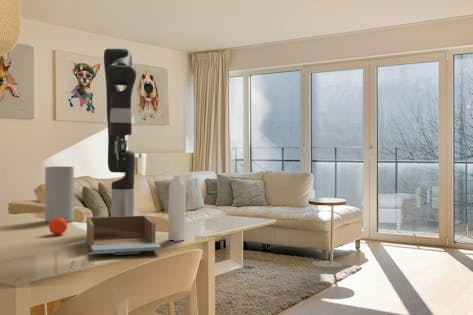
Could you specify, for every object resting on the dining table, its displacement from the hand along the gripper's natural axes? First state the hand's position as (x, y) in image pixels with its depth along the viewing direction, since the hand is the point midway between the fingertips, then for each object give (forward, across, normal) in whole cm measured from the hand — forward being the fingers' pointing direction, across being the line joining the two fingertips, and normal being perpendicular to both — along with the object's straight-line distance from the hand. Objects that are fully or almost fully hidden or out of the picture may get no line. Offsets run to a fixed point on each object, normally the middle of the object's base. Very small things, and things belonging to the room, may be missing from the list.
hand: (120, 170), depth 199 cm
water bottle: (+27, -6, +23) cm, 36 cm away
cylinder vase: (+27, -67, -20) cm, 75 cm away
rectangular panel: (+26, +10, 0) cm, 28 cm away
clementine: (+27, -30, -21) cm, 46 cm away
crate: (+27, -1, 0) cm, 27 cm away
